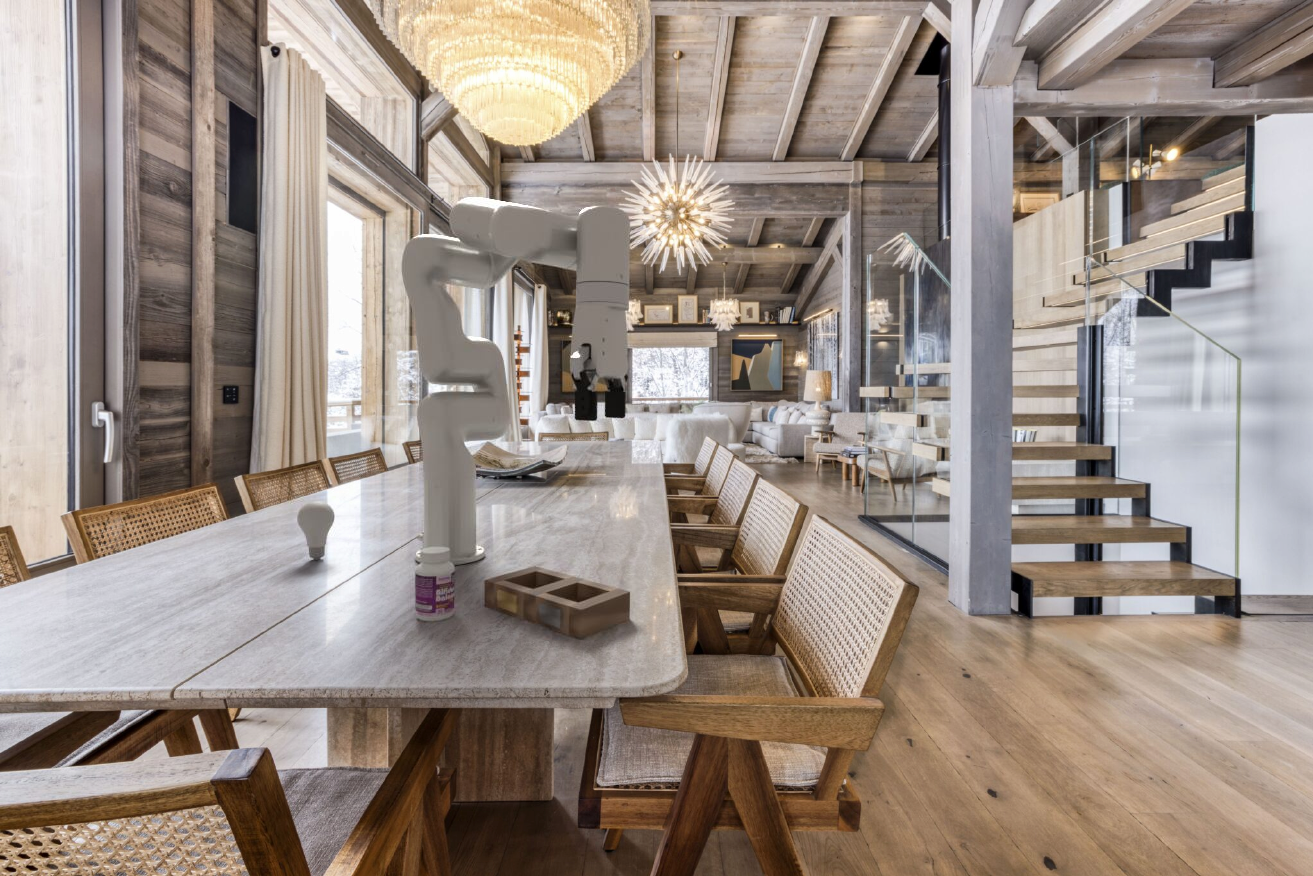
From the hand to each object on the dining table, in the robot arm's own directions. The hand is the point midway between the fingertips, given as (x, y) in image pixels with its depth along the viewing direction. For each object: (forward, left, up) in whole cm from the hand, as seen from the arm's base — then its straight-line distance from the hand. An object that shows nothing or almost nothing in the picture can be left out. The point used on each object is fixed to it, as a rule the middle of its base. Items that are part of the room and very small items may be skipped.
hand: (601, 419), depth 93 cm
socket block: (-5, -4, -28) cm, 29 cm away
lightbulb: (-59, -13, -29) cm, 67 cm away
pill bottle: (-17, -16, -29) cm, 37 cm away
